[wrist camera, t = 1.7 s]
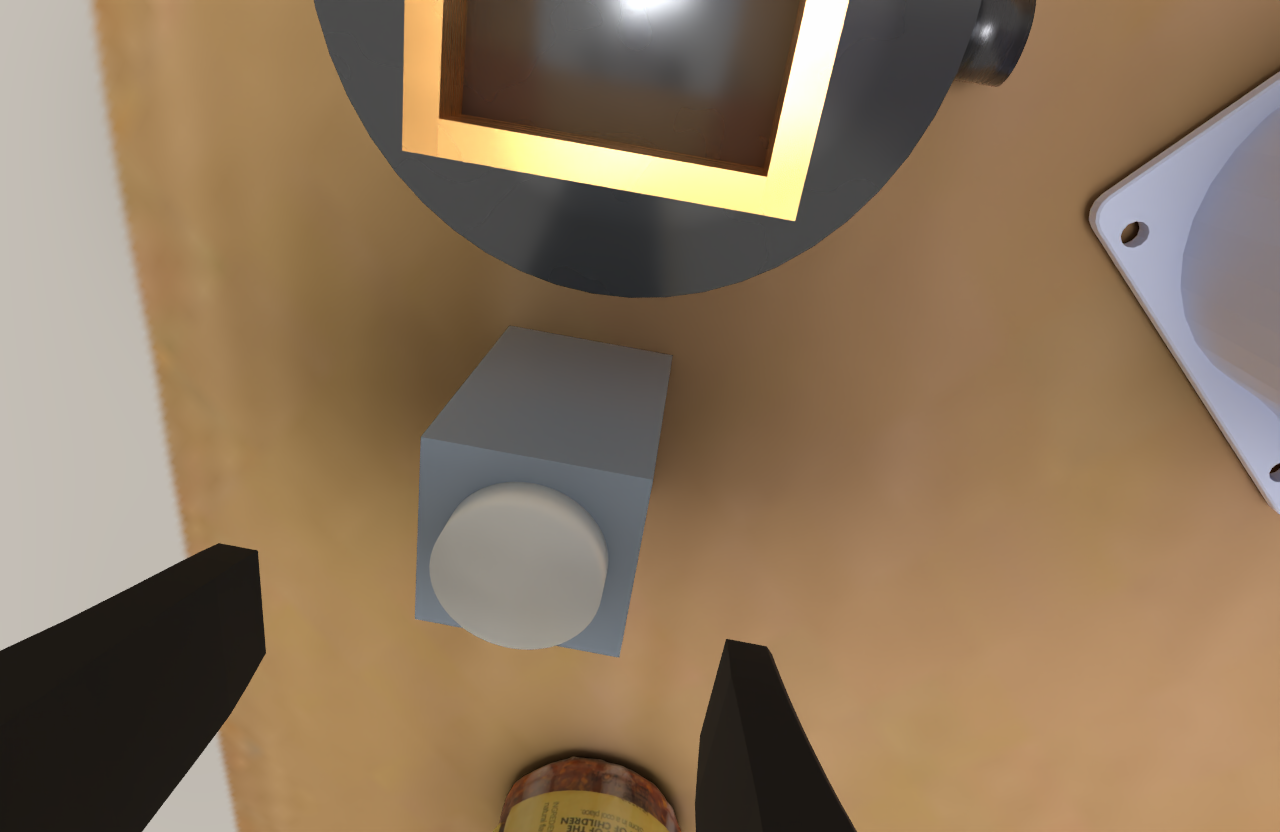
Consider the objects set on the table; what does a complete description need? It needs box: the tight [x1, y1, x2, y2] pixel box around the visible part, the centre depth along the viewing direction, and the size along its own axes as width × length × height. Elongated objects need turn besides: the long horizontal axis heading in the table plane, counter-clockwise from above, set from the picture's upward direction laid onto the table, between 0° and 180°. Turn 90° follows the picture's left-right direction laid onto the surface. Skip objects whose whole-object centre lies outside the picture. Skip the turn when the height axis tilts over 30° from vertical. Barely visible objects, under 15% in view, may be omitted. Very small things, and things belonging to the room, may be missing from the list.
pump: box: [415, 326, 673, 657], centre depth 16 cm, size 4×5×7 cm
